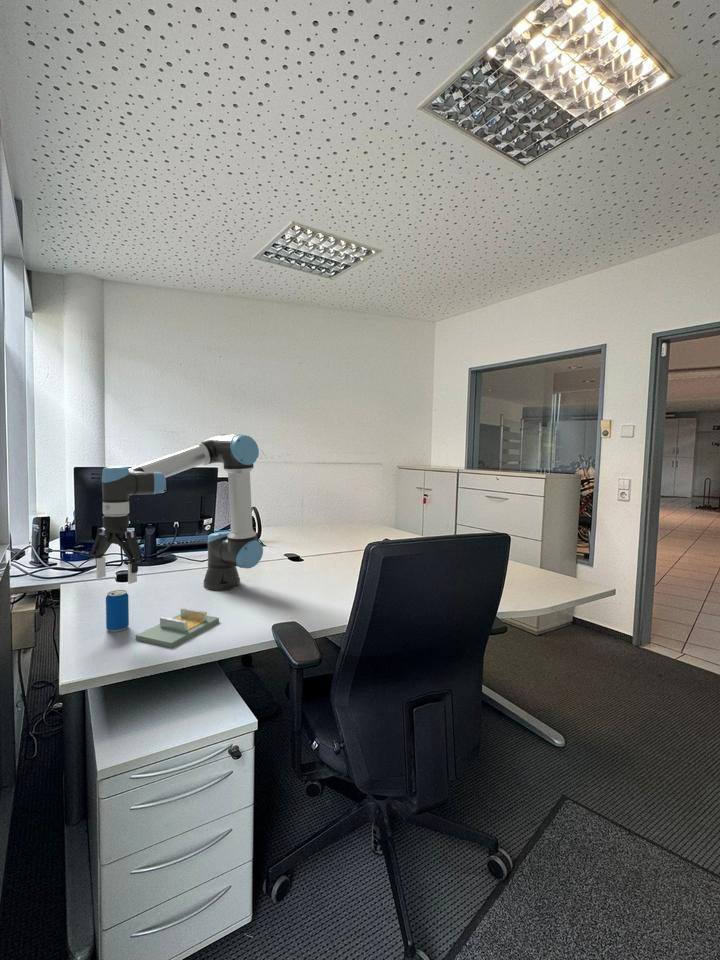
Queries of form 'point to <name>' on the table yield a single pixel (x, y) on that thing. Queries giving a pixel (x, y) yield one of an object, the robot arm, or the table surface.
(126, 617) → the beverage can
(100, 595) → the table surface
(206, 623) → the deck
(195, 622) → the chute bracket
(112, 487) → the robot arm
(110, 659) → the table surface
